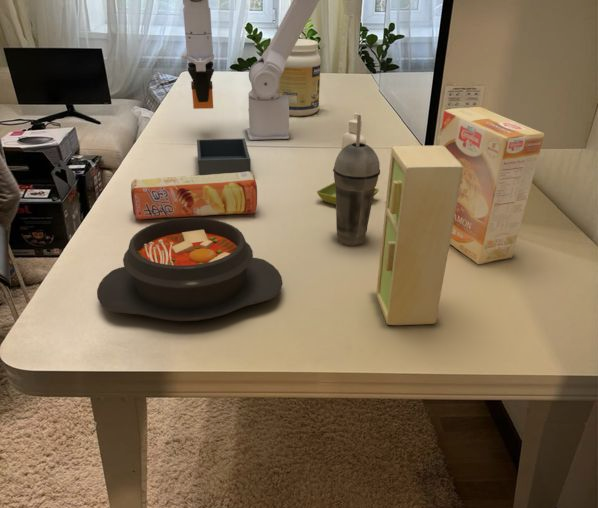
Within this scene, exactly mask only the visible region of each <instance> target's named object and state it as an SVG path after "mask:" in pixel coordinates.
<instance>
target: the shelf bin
mask: <svg viewBox="0 0 598 508" xmlns="http://www.w3.org/2000/svg"><path fill="white" fill-rule="evenodd" d="M196 149H197V151H196V152H197V165H198V166H197V167H198V175H212V174H224V173H240V172H247V171H248V172H251V169H252V168H251V156H250V152H249V148H248V145H247V141H246V138H243V137H242V138H208V139H204V138H203V139H201V138H200V139H196ZM251 173H252V172H251Z"/></svg>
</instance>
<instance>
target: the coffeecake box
mask: <svg viewBox="0 0 598 508" xmlns="http://www.w3.org/2000/svg"><path fill="white" fill-rule="evenodd" d="M544 137H545V133H544V132H542V131H539V130H536V129H534V128H532V127H529V126H527V125H525V124H522V123H520V122H517V121H515V120H512V119H510V118H508V117H505V116H503V115H501V114H498V113H496V112H494V111H490V110H488V109H486V108H484V107H481V106H473V107H453V108H448V109H444V111H443V117H442V123H441V130H440V136H439V143H438V146H444V147H446V148H447V150H448V151H449V152H450V153H451V154H452V155H453V156H454V157H455V158H456V159H457V160H458V161H459V162H460V163H461V165H462V167H463V172H462V178H461V183H460V189H459V195H458V200H457V206H456V212H455V217H454V223H453V228H452V234H451V239H450V246H452V247H453V248H455V249H456V250H458V251H459V252H460V253H462V254H463V255H464V256H466V257H467V258H469V259H470V260H472V261H473V262H474V263H476V264H477V265H483V264H487V263H488V264H489V263H491V262H495V261H501V260H505V259H512V258H513V256H514V252H515V248H516V244H517V241H518V236H519V233H520V230H521V225H522V222H523V217H524V213H525V209H526V207H527V202H528V198H529V195H530V191H531V187H532V183H533V179H534V176H535V171H536V168H537V164H538V160H539V157H540V154H541V153H540V152H541V148H542V145H543V140H544Z"/></svg>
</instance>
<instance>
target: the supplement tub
mask: <svg viewBox="0 0 598 508" xmlns="http://www.w3.org/2000/svg"><path fill="white" fill-rule="evenodd" d="M318 51H319V42H318V41H316V40H313V39H307V38H299V39H298V41H297V42H296V44H295V46H294V48H293V50H292V51H291V53H290V55H289V57H288V59H287V61H286V64H285V68H284V71H283V73H282V75H281V77H280V84H279V89H278V92H279V93H280V96H287V97H288V101H289V116H292V117H304V116H305V117H306V116H310V115H313V114H316V112H318V111H319V108H320V87H321V66H322V65H321V64H322V61H321V59H322V58H321V56H320V54H319V53H318Z"/></svg>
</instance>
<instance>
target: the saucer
mask: <svg viewBox="0 0 598 508" xmlns="http://www.w3.org/2000/svg"><path fill="white" fill-rule="evenodd" d="M378 192H380V189H379V188H376V187H375V189H374V195H373V198H374V197H375V196H376V195H377V194H378ZM316 194H317V195H318V196H319V198H321V200H323V201H324V202H325V203H329V204H332V205H335V206H336V184H335V181H334V182H332V183H330V184H329V185H327V186H325V187H322V188H320V189H318V190H317V191H316Z"/></svg>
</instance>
